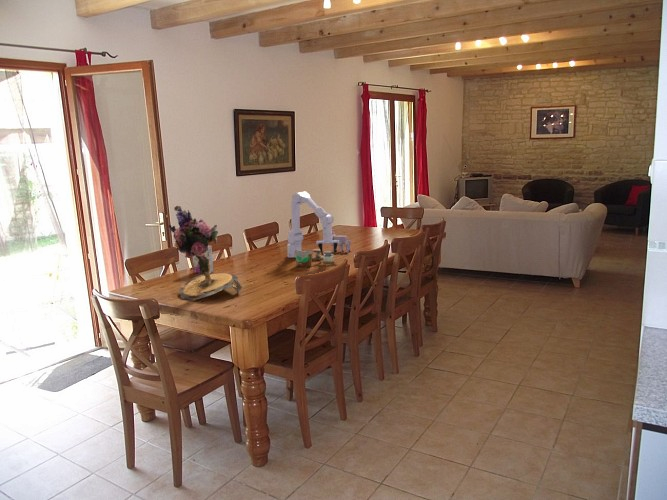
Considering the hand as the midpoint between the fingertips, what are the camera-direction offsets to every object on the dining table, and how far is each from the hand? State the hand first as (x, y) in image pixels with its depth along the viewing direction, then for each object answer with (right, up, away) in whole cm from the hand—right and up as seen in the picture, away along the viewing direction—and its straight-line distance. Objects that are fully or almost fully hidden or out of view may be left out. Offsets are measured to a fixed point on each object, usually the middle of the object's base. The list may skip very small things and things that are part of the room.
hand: (328, 255), depth 341 cm
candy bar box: (-75, -11, -18) cm, 78 cm away
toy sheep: (+6, +2, +31) cm, 31 cm away
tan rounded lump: (-7, -2, +9) cm, 11 cm away
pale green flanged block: (0, -4, +1) cm, 4 cm away
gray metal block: (0, -3, +1) cm, 3 cm away
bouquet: (-61, -19, -63) cm, 89 cm away
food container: (-16, -7, -12) cm, 21 cm away
